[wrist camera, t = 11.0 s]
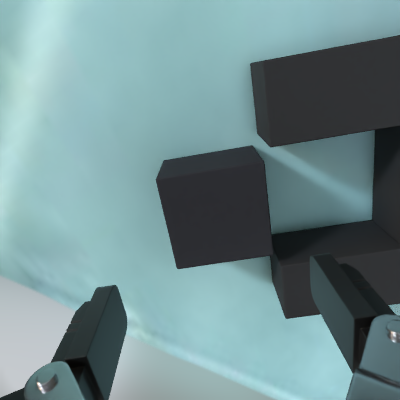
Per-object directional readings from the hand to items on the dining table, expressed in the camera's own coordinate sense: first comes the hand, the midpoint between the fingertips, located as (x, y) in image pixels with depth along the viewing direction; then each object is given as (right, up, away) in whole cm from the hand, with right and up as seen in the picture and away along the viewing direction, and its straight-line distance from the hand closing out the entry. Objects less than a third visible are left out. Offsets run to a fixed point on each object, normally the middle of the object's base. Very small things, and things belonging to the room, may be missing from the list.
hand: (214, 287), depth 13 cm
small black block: (0, +4, +9) cm, 10 cm away
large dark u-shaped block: (+9, +5, +8) cm, 14 cm away
